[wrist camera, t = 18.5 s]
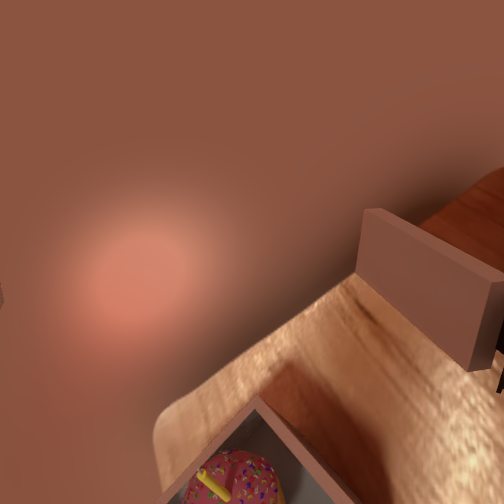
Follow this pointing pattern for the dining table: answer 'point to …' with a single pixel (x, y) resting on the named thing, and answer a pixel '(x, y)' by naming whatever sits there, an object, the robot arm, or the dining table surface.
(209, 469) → the cupcake
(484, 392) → the dining table surface
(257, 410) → the collar
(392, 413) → the dining table surface
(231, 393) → the dining table surface
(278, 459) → the gray open box
